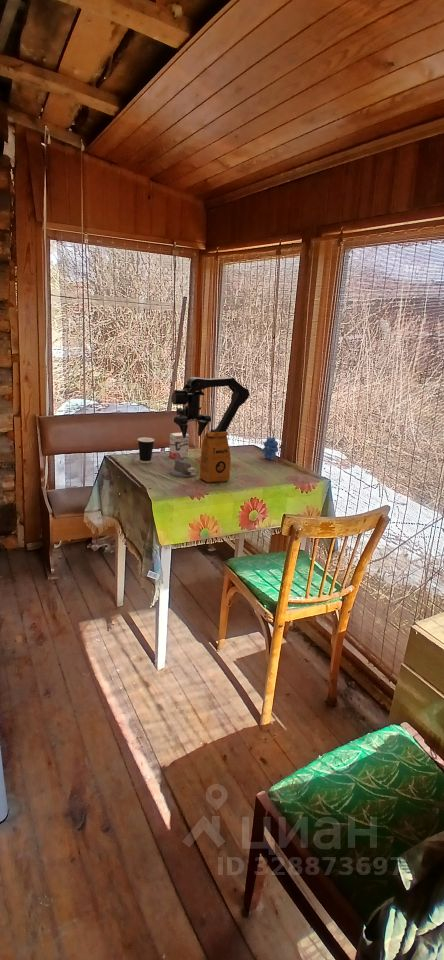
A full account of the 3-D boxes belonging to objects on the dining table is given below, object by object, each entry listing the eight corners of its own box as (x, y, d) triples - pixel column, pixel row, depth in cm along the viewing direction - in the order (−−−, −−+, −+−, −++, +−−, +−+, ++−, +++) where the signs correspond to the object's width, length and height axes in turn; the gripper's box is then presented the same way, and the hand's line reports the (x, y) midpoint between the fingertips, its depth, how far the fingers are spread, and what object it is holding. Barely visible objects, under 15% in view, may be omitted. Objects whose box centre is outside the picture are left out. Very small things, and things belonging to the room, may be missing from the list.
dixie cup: (155, 463, 264) (156, 441, 260) (139, 464, 260) (140, 441, 257) (151, 459, 270) (151, 437, 267) (135, 459, 267) (135, 437, 264)
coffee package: (232, 482, 243) (235, 433, 237) (206, 484, 238) (209, 434, 231) (222, 476, 252) (225, 428, 245) (197, 478, 246) (200, 429, 240)
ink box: (173, 458, 274) (174, 435, 271) (168, 456, 278) (169, 433, 275) (188, 457, 279) (189, 434, 275) (183, 454, 283) (184, 432, 279)
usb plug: (179, 468, 256) (180, 457, 254) (196, 475, 247) (196, 464, 246) (172, 469, 253) (173, 458, 252) (189, 476, 245) (189, 465, 243)
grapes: (282, 461, 283) (285, 438, 280) (272, 462, 280) (274, 439, 276) (269, 455, 293) (271, 433, 289) (259, 456, 289) (261, 434, 286)
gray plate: (185, 468, 259) (185, 466, 259) (201, 475, 251) (201, 473, 251) (164, 471, 252) (164, 470, 251) (180, 479, 243) (180, 477, 243)
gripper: (198, 400, 272) (196, 431, 277) (167, 402, 260) (165, 435, 264) (212, 404, 264) (210, 436, 269) (181, 406, 252) (180, 440, 257)
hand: (191, 436), depth 265 cm, fingers open, 9 cm apart
